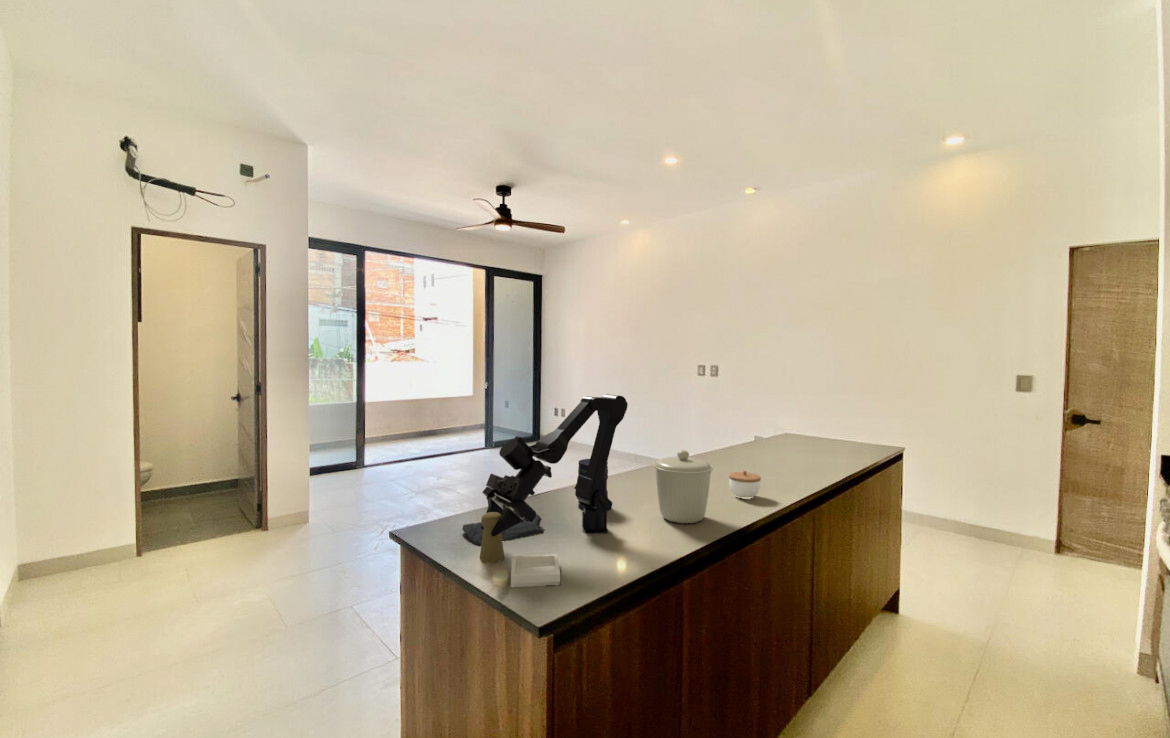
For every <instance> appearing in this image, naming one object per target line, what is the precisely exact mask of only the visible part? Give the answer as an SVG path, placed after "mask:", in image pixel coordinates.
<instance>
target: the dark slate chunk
mask: <svg viewBox="0 0 1170 738" xmlns="http://www.w3.org/2000/svg"><path fill="white" fill-rule="evenodd" d="M522 520H523V521H524V522H523V523H521V522H520V523H518V524H516V525H514V526H512V527H510V528H508V529H507V530H505V531H503V532H501V535H502V541H504V542H508V541H507V540H509V541H513V540H516V538H518V539H522V538H521V537H523V538H527V537H531V536H535V535H534V534H536V535H540V534H539V533H541V534H543V533H544V531H545V529H544V528H542V527H541V526H540V524H541V521H542V517H541V516H540V515H539V514H537V513H536V518H535V520H534V521H533V523H532V524H531V523H529V522H527V521H526V520H525V518H524V517H523V519H522ZM481 525H482V523H481V521H479V522H476V523H473V522H472V523H466V524H463V525H462V528H461V529H462V531H463V532H464V534H465V536H467V538H468V539H469V540H470V541H471V542H472V543H473V544H475V545H477V546H479V547H481V544H482V536H483V530H482V529H481ZM530 535H531V536H530ZM526 536H527V537H526Z"/></svg>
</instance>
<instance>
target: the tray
mask: <svg viewBox="0 0 1170 738" xmlns="http://www.w3.org/2000/svg"><path fill="white" fill-rule="evenodd" d="M511 557H512V559H511V568H510V569H511V571H510V588H529V587H547V586H546V585H555V586H561V571H560V564H559V555H558V554H556V553H554V554H553V553H552V554H533V555H532V554H531V555H529V554H528V555H526V554H525V555H512V556H511Z"/></svg>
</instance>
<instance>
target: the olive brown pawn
mask: <svg viewBox="0 0 1170 738" xmlns="http://www.w3.org/2000/svg"><path fill="white" fill-rule="evenodd" d="M501 516H502V515H501V514H500V513H498V512H488V513H484V514H483V515H482V517H481V521H480V522H481V523H482V526H483V527H484V529H483V536H482V544H481V546H480V552H479V560H480V561H481V562H483V563H487V564H488V563H490V564H491V563H497V562H501V561H503V560H504V558H505V551H504V542H502V535H501V533H499V534H498V535H496V536H494V537H493V536H492V535H491V532H492V530H493V528H494V527H495V525H496V523H497V522H498V520H499V519H500V517H501Z"/></svg>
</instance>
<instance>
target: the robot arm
mask: <svg viewBox="0 0 1170 738" xmlns="http://www.w3.org/2000/svg"><path fill="white" fill-rule="evenodd" d="M628 406H629V405H628V401H627V399H626V398H625V397H624V396H623V395H616V394H609V393H607V394H603V395H602V396H600V397H599V396H597V397H596V396H588V395H587V396H583V397H582V398H581V400H580V402H579V403H578V404H577V405H576V406H575V408H574V409H573V410H572V411H571V412H570V413H569V414H568V415H567V416H566V417H565V419H564V420H563V421H562V422H561V423H560V424H559V425H558V427H557V428H555V429H554V430H553V431H551V432H549V433H547V434H544V435H543V436H542V437H541V438H539V440H537V441H536V442H535V443H534V444H532V445H528V444H527V443H526V442H525V440H524V439H523V438H522V437H521V436H519V435H516V436H514V438H513V439H510V440H509V441H507V442H506V443H504V444H503V445H502V446H501V448H500V450H499V456H500V457H501V458H502V459H503V460H504V461H505V463H507V464H508V465H509V466H510V467H511V468H512V469H513V470H515V471H518V472H517V474H516V475H515V476H514V475H510V476H509V475H506V474H505V475H504V476H503V477H502V476H500V475H497V474H494V473H490V474H489V477H488V479H487V482H486V484H485V489H483V490H482V494H483V495H484V496H485V497H486V501H487V510H486V513H488V512H498V513H500V514H501V515H502V516H501V517H500V519H499V520H498V522H497V523H496V525H495V527H494V528H493V530H492V532H491V535H492V536H493V537H494V536H496V535H498V534H499V533H501V532H503V531H505V530H507V529H508V528H510V527H512V526H514V525H516V524H518V523H520V522H521V523H523V522H524V521H523V520H522V519H523V517H524V518H525V520H526V521H527V522H529V523H531V524H532V523H533V521H534V520H535V518H536V514H537V512H536V511H535V510H534V509H533V507H531V505H529V504H528V503H527V502H526V500H527V498H528V497H529V496H532V497H533V496H534V495H535V494H536V492H535V491H534V490H535V488H536V487H537V485H538V484H539V483H540V481H541V480H542V478H543V477H547V478H550V479H551V478H552V477H553V475H552V467H551V466H548V465H545V464H544V463H545V462H546V463H548V464H551V465H552V464H554V465H555V464H558V463H559V462H560V461H561V460H562V459H563V457H564V455H565V454H566V452H567V450H568V445H569V443H570V441H571V439H573V437H574V436H575V435H576V434H577V433H578V432H579V431H580V429H581V428H583V426H584V425H585V423H587V421H588V420H589V419H590V418H591V417H592V416H593V415H594V413H595V412H597V416H598V422H599V423H598V427H597V432H596V436H595V439H594V442H593V443H594V444H593V447H592V450H591V455H590V458H589V459H590V462H589V466H588V469H587V472H586V473H585V474H584V475H583V476H581V475H579V476H578V475H577V479H576V480H577V481H576V484H575V486H574V488H573V489H574V493H575V494H574V495H575V496H576V499H577V500H579V502H578V504H579V503H580V506H583V507H584V510H583V511H582V512H581V527H582V529H583V530H584V533H585V534H599V533H603V534H605V533H609V530H608V524H607V523H608V512H609V511H611V510H612V507H613V502H612V501H611V499H609V496H608V497H607V496H606V495H605V492H606V483H605V479H604V472H605V468H606V465H607V462H608V461H609V455H610V452H611V449H612V445H613V440H614V436H615V432H616V428H617V427H618V425H619V424H620V423H621V422H622V421H623V420H624V418H625V415H626V414H627V409H628ZM533 457H534V458H533ZM535 458H536V459H535ZM543 462H544V463H543ZM607 466H608V465H607ZM486 513H485V514H486ZM481 529H482V530H483V529H484V527H483V526H482V525H481Z"/></svg>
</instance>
